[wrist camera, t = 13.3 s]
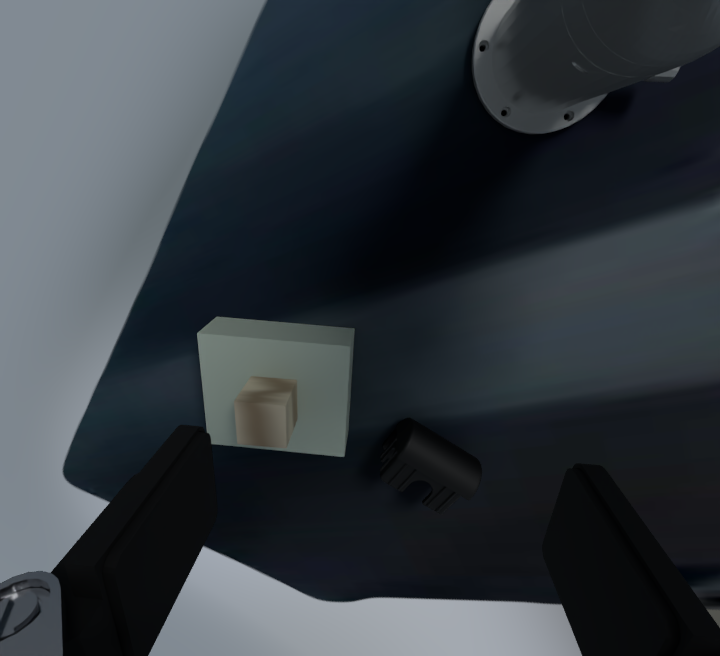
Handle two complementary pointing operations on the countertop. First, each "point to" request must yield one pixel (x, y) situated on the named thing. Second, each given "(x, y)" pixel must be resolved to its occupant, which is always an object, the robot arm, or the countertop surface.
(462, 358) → the countertop surface
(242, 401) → the maple cube
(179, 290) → the countertop surface
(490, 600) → the countertop surface
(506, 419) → the countertop surface
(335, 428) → the sage stand
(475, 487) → the end cap
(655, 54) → the robot arm
